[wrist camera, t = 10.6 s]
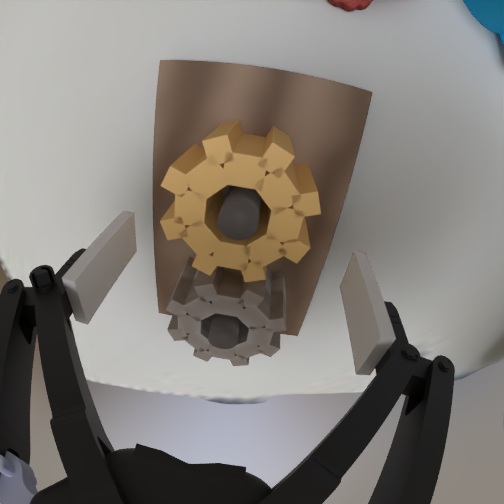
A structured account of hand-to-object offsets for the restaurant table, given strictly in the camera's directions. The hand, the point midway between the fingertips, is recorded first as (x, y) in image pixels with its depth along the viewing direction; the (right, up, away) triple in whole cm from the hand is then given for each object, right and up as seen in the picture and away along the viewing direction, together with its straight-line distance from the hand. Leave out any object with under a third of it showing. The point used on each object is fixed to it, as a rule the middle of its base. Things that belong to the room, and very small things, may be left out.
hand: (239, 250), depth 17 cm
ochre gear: (0, +5, +6) cm, 8 cm away
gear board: (0, +3, +10) cm, 11 cm away
